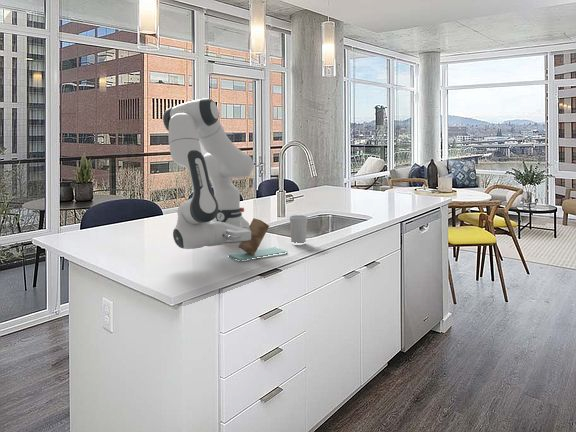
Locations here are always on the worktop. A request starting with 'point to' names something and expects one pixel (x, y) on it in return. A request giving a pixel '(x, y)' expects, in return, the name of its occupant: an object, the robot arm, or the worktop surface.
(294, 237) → the cup
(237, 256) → the board
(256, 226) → the block
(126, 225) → the worktop surface
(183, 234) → the robot arm
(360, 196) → the worktop surface
